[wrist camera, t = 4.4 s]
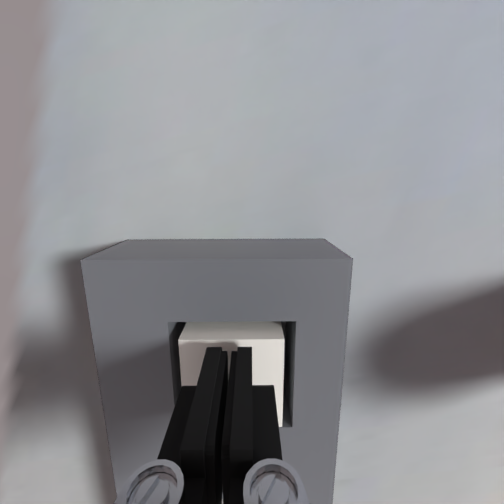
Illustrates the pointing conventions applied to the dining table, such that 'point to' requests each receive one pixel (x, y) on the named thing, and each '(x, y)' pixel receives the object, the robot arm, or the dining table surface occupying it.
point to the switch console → (219, 310)
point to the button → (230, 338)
